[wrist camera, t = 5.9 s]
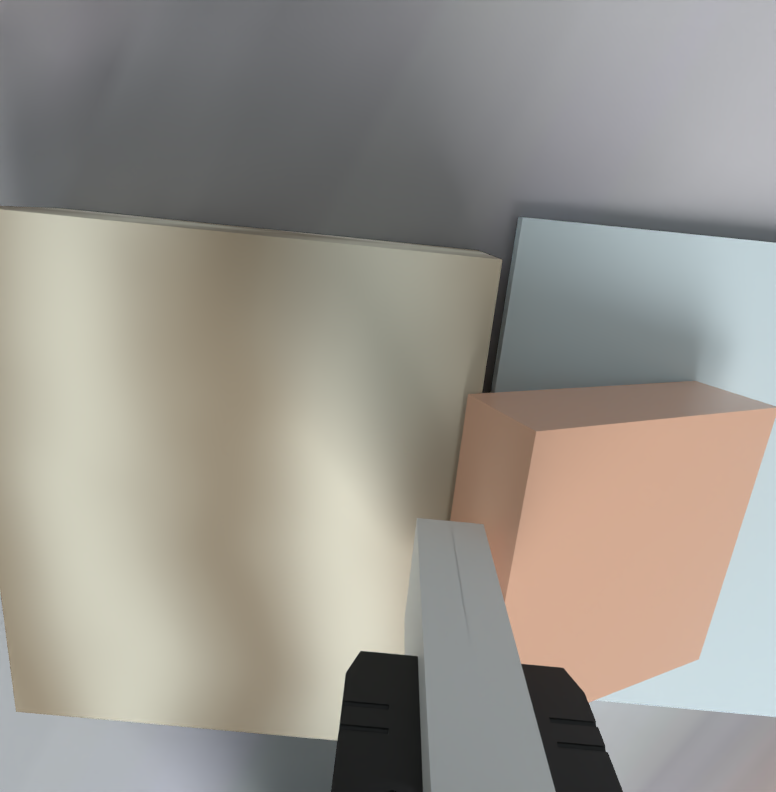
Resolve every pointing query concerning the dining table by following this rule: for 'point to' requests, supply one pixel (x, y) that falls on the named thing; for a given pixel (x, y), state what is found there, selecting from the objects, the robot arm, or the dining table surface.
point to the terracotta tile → (610, 518)
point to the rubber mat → (658, 363)
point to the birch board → (220, 459)
